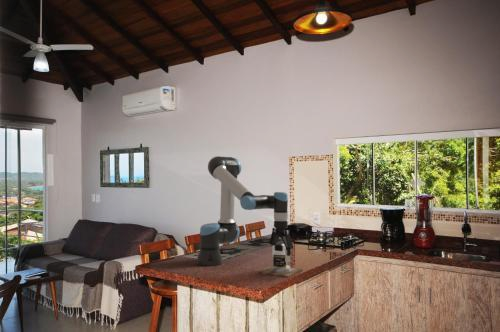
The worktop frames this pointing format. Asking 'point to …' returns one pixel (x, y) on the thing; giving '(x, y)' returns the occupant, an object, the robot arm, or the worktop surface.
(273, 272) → the stand
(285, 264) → the medicine bottle
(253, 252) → the worktop surface
